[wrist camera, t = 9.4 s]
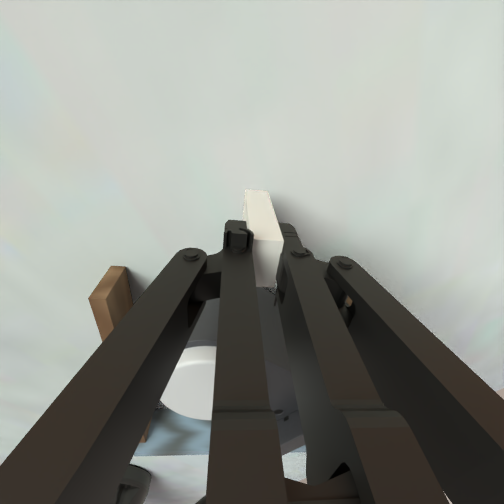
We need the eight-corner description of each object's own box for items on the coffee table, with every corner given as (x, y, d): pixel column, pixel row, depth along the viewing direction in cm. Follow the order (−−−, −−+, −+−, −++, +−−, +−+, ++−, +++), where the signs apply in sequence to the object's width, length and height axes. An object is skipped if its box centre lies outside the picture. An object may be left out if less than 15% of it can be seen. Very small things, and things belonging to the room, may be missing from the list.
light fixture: (227, 229, 21) (212, 330, 12) (326, 306, 26) (370, 421, 17) (158, 301, 25) (106, 419, 16) (254, 357, 30) (258, 472, 21)
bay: (146, 413, 36) (134, 456, 32) (111, 265, 22) (81, 308, 17) (303, 412, 38) (311, 451, 34) (363, 279, 24) (390, 319, 20)
